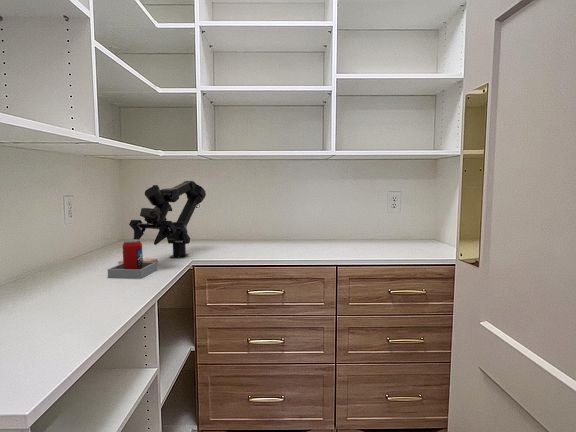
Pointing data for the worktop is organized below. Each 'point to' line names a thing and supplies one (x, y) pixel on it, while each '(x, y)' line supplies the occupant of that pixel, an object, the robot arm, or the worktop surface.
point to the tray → (132, 271)
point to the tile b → (150, 260)
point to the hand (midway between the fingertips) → (144, 243)
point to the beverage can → (132, 254)
